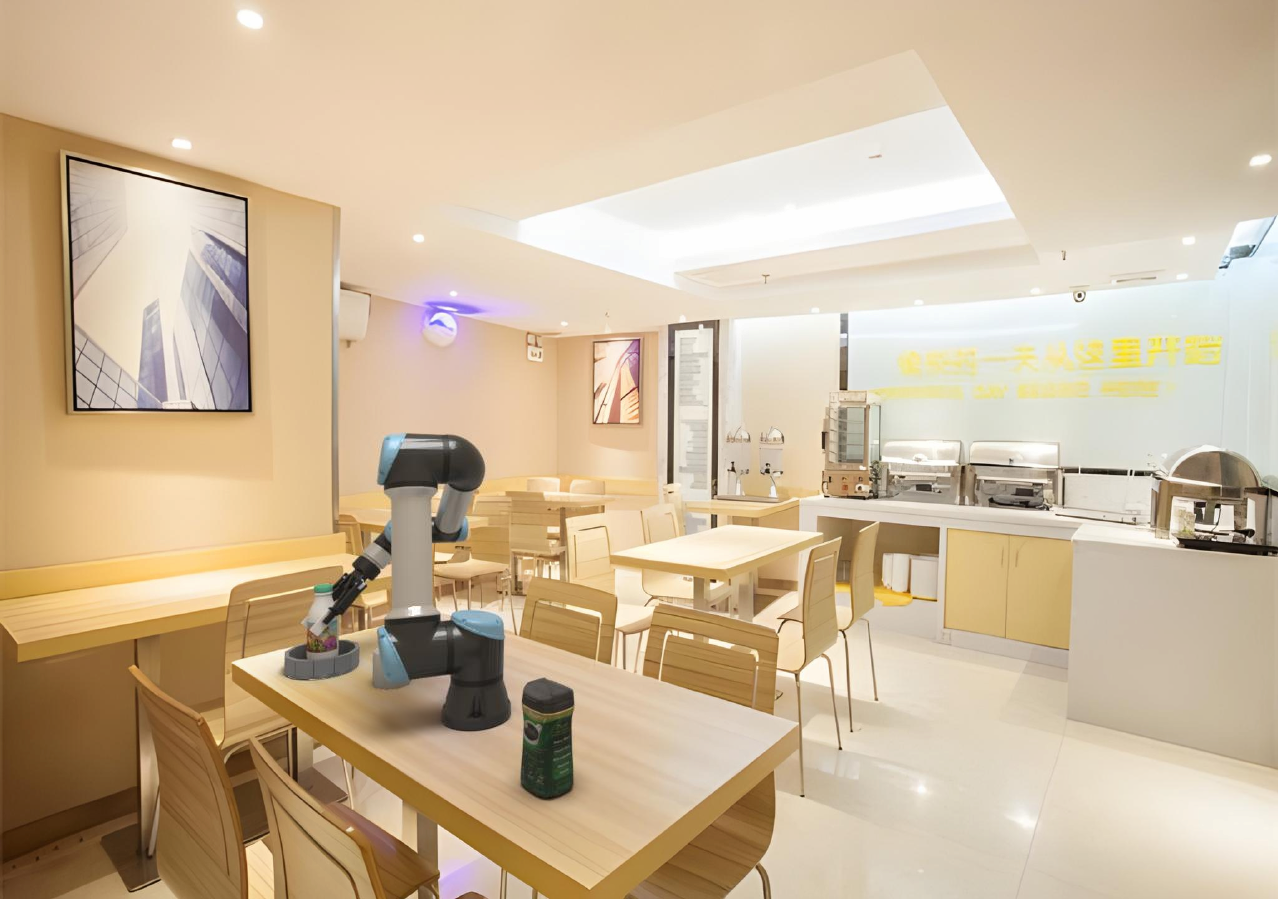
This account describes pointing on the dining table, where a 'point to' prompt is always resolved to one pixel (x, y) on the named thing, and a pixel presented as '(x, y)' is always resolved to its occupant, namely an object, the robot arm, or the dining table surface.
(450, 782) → the dining table surface
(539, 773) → the coffee jar
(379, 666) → the toilet tissue
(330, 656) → the milk bottle
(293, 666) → the bowl
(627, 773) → the dining table surface
